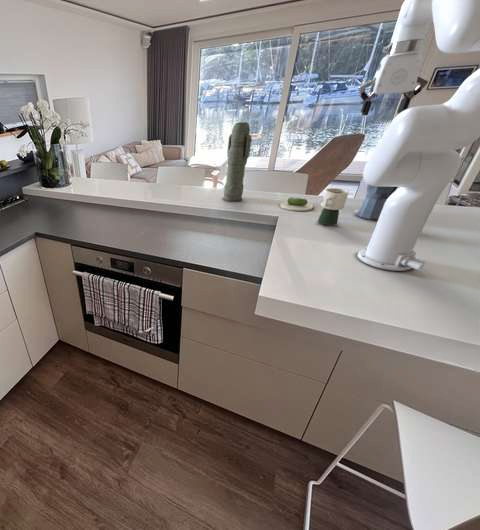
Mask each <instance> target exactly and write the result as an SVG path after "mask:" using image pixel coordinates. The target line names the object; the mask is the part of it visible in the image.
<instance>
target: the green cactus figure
mask: <svg viewBox="0 0 480 530" xmlns="http://www.w3.org/2000/svg"><path fill="white" fill-rule="evenodd" d="M250 131H251V129H250V123H248V122H236V123H234V124H233V127H232V130H231V133H230V134H229V136H228V142H227V143H228V144H227V151H226V152H227V154H226V155H227V160H226V161H227V162H226V164H227V171H226V179H225V180H226V182H225V184H224V186H223V187H224V189H223V200H224V201H226V202H230V203H231V202H233V203H235V202H240V201H242V200H243V199H242V197H243V193H244V177H245V171H246V165H247V163H248V159H249V157H250V150H251V145H252V136H251V134H250Z"/></svg>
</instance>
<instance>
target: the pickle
mask: <svg viewBox="0 0 480 530" xmlns="http://www.w3.org/2000/svg"><path fill="white" fill-rule="evenodd" d="M286 201H287V202H288V203H289V204H294V205H300V206H305V205H306V204H307V202H308V199H306V198H300V197H292V196H291V197H289V198H287V200H286Z"/></svg>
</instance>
